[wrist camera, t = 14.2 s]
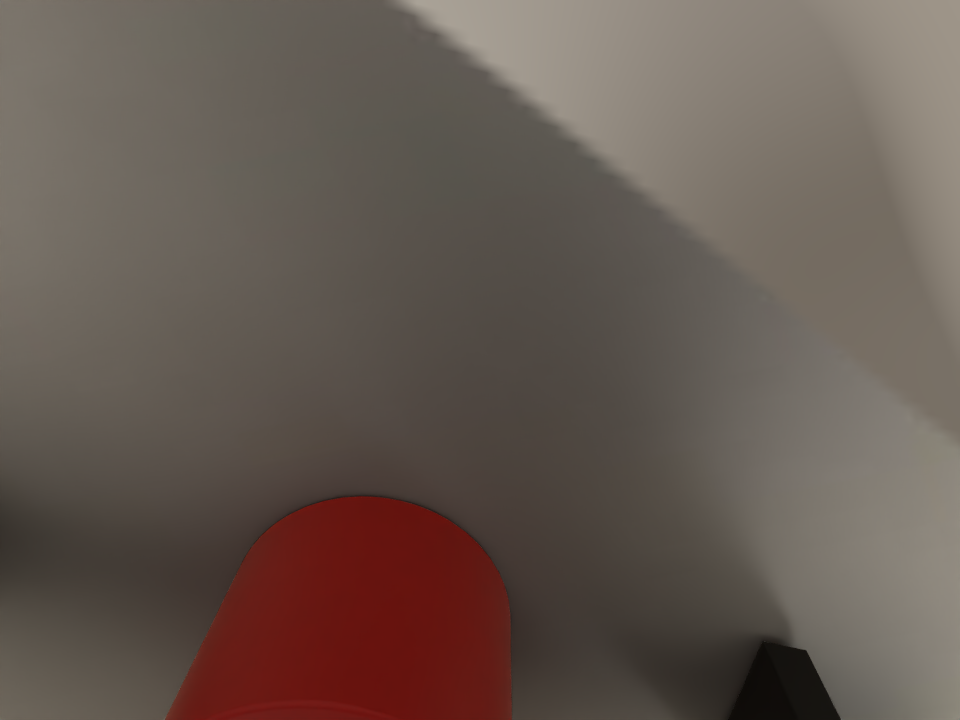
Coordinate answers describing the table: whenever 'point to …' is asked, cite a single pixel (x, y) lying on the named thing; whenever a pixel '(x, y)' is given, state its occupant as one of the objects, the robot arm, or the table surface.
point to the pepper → (357, 623)
